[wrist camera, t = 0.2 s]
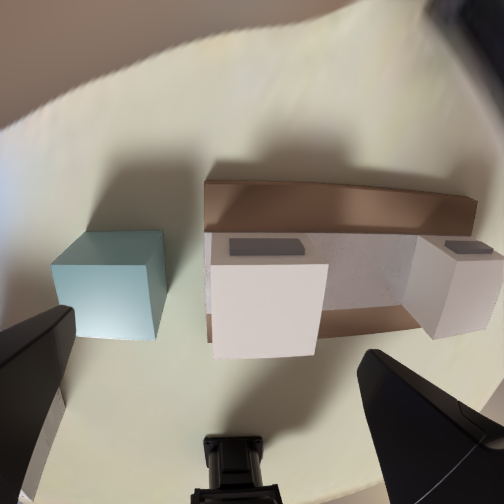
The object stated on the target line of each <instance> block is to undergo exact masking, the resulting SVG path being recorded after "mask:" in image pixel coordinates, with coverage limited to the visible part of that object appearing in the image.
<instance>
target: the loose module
mask: <svg viewBox="0 0 504 504" xmlns="http://www.w3.org/2000/svg"><path fill="white" fill-rule="evenodd" d="M51 270H52V275H53V279H54V284H55V288H56V292H57V296H58V300H59V304H60V305H67V306H71V307H73V308H74V310H75V320H76V336H77V337H90V338H105V339H123V340H147V341H156V337H157V333H158V329H159V324H160V320H161V316H162V312H163V308H164V305H165V301H166V297H167V284H166V272H165V258H164V244H163V230H154V231H94V232H84V233H83V234H82V235H81V236H80V237H79V238H78V239H77V240H76V241H75V242H73V243H72V244H71V245H70V246H69V247H68V248H67V249H66V250H65V251H64V252H63V253H62V254H61V255H60V256H59V257H58V258H57V259H56V260H55V261H54V262H53V263H52V264H51Z"/></svg>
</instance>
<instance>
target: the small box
mask: <svg viewBox="0 0 504 504" xmlns="http://www.w3.org/2000/svg"><path fill="white" fill-rule="evenodd" d="M65 410H66V409H65V405H64V402H63V398H62V394H61V391H60V387H59V388H58V390H57V392H56V395H55V397H54V399H53V402H52V404H51V407H50V409H49V412H48V414H47V417H46V419H45V422H44V424H43V427H42V430H41V432H40V435H39V438H38V440H37V443H36V446H35V449H34V451H33V454H32V457H31V460H30V463H29V466H28V469H27V472H26V475H25V478H24V482H23V485H22V488H21V492H20V495H19V496H20V497H22V498H25V499H27V500H29V501H31V502H33V501H34V498H35V494H36V491H37V488H38V485H39V482H40V478H41V475H42V472H43V469H44V466H45V463H46V461H47V458H48V455H49V452H50V450H51V447H52V444H53V441H54V439H55V436H56V433H57V431H58V428H59V425H60V422H61V420H62V418H63V415H64V412H65Z"/></svg>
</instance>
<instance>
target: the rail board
mask: <svg viewBox="0 0 504 504" xmlns="http://www.w3.org/2000/svg"><path fill="white" fill-rule="evenodd" d="M477 203H478V201H476V200H474V199H471V198H469V197H465V196H457V195H449V194H441V193H433V192H424V191H415V190H405V189H394V188H383V187H371V186H358V185H343V184H327V183H307V182H283V181H242V180H205V183H204V230H296V231H361V232H402V233H435V234H463V235H471V233H472V228H473V224H474V219H475V214H476V208H477ZM206 315H207V338H208V343H213V342H212V314H206ZM415 328H422V327H421V326H420V325H419V324H418V322H417V321H416V320H415V319H414V318H413V317H412V316H411V315H410V313H409V312H408V311H407V310H406V309H405V308H404V307H403V306H402V305H395V306H383V307H370V308H356V309H340V310H323V311H322V312H321V318H320V324H319V330H318V336H317V339H319V338H332V337H344V336H355V335H365V334H374V333H383V332H391V331H399V330H407V329H415Z"/></svg>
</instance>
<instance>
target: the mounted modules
mask: <svg viewBox="0 0 504 504" xmlns="http://www.w3.org/2000/svg"><path fill="white" fill-rule="evenodd" d="M328 266H329V264H328V262H327V261H326V260H325V259H324V257H323V256H322V255H321V253H320V252H319V251H318V249H317V248H316V247H315V245H314V244H313V243H312V241H311V240H310V239H309V237H308V236H307V235H306V234H305V233H212V241H211V262H210V272H211V314H212V342H213V360H218V359H257V358H278V357H294V356H308V355H314V352H315V347H316V341H317V336H318V330H319V324H320V318H321V312H322V306H323V300H324V294H325V287H326V280H327V273H328ZM503 280H504V256H503V255H501V254H499V253H498V252H496V251H494V250H493V248H491V247H490V246H488V245H486V244H485V243H483V242H481V241H478V240H476V239H474V238H472V237H466V236H435V235H418V238H417V243H416V248H415V253H414V257H413V262H412V266H411V271H410V275H409V279H408V283H407V287H406V291H405V295H404V299H403V302H402V306H403V307H404V308H405V309H406V310H407V311H408V312H409V313H410V315H411V316H412V317H413V318H414V319H415V320H416V321H417V322H418V324H419V325H420V326H421V327H422V328H423V329H424V330H425V332H426V333H427V334H428V335H429V336H430V337H431V339H432V340H434V339H440V338H445V337H450V336H456V335H460V334H465V333H470V332H475V331H479V330H484V329H486V327H487V325H488V322H489V320H490V317H491V314H492V312H493V309H494V306H495V304H496V301H497V298H498V295H499V292H500V289H501V286H502V283H503Z"/></svg>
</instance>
